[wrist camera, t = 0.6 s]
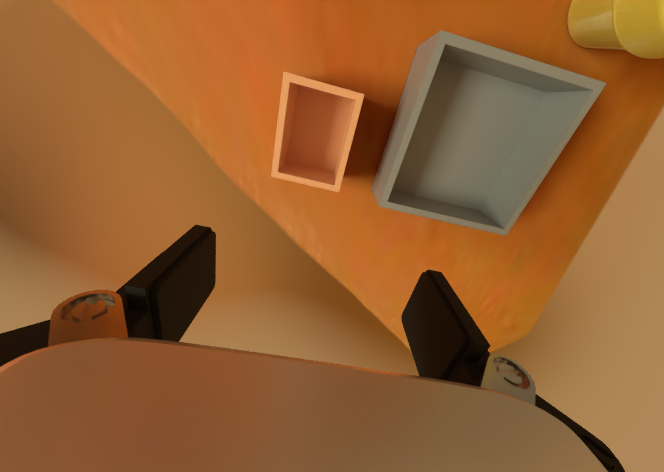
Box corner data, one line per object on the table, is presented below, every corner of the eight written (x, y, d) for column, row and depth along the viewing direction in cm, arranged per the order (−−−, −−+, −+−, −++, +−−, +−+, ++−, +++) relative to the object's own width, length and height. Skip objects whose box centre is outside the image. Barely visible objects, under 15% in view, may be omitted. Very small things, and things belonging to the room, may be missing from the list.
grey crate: (417, 45, 24) (441, 30, 19) (551, 87, 26) (606, 83, 21) (371, 188, 31) (378, 206, 26) (478, 214, 33) (506, 235, 28)
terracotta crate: (293, 77, 26) (283, 71, 20) (358, 95, 26) (364, 94, 21) (282, 163, 30) (271, 176, 25) (338, 176, 31) (338, 192, 25)
